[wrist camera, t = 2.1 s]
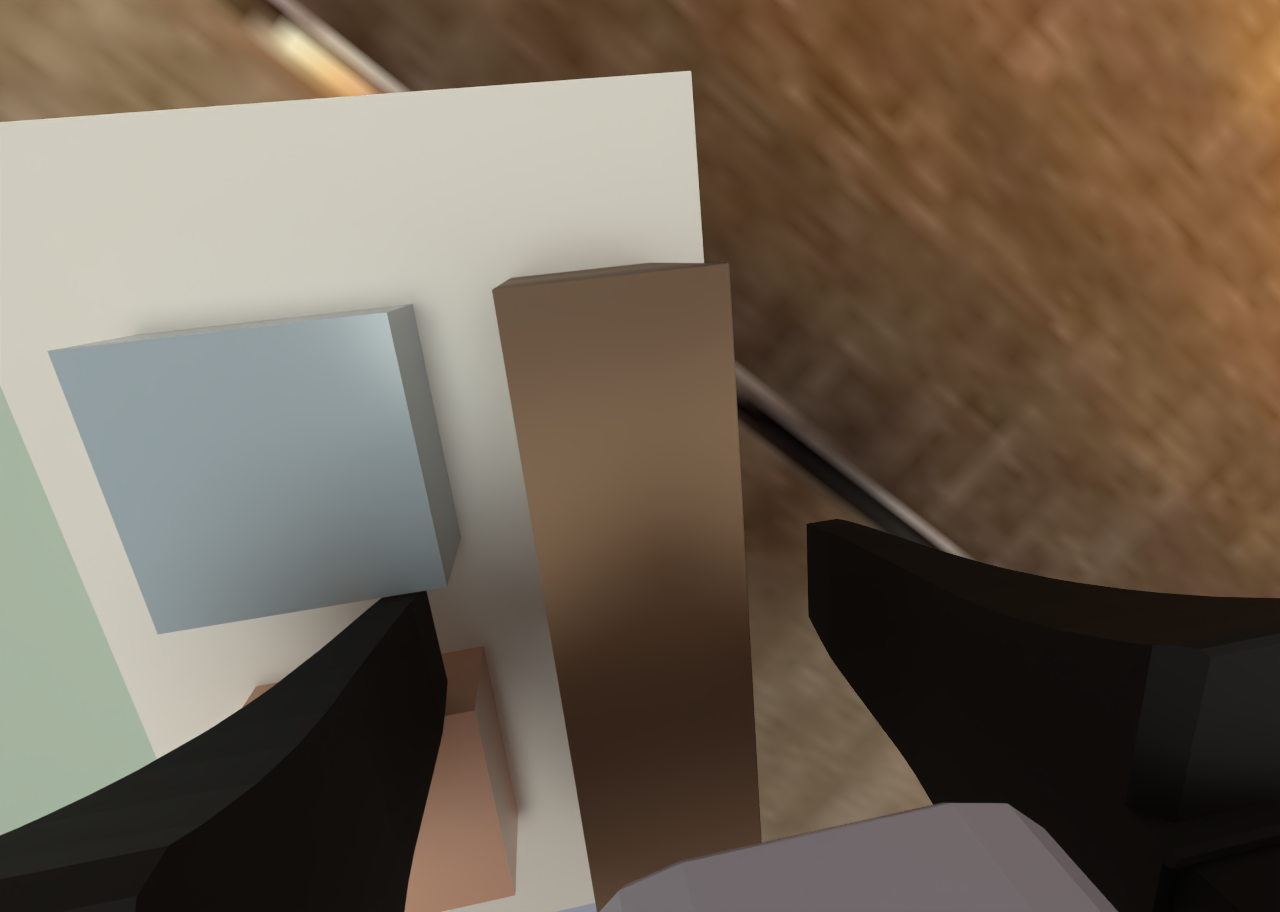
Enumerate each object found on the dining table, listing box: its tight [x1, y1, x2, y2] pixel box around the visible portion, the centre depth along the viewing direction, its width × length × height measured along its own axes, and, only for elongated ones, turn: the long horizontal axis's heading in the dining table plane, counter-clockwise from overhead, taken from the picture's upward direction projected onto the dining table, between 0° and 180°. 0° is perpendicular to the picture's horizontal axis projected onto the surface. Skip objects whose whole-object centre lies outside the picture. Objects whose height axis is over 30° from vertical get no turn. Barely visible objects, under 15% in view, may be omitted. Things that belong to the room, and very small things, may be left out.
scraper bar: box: [492, 263, 761, 912], centre depth 11 cm, size 12×2×5 cm, turn 6°
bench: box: [0, 71, 704, 912], centre depth 14 cm, size 18×12×3 cm, turn 6°
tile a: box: [242, 646, 518, 912], centre depth 13 cm, size 4×4×2 cm
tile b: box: [47, 304, 461, 634], centre depth 11 cm, size 4×4×2 cm
